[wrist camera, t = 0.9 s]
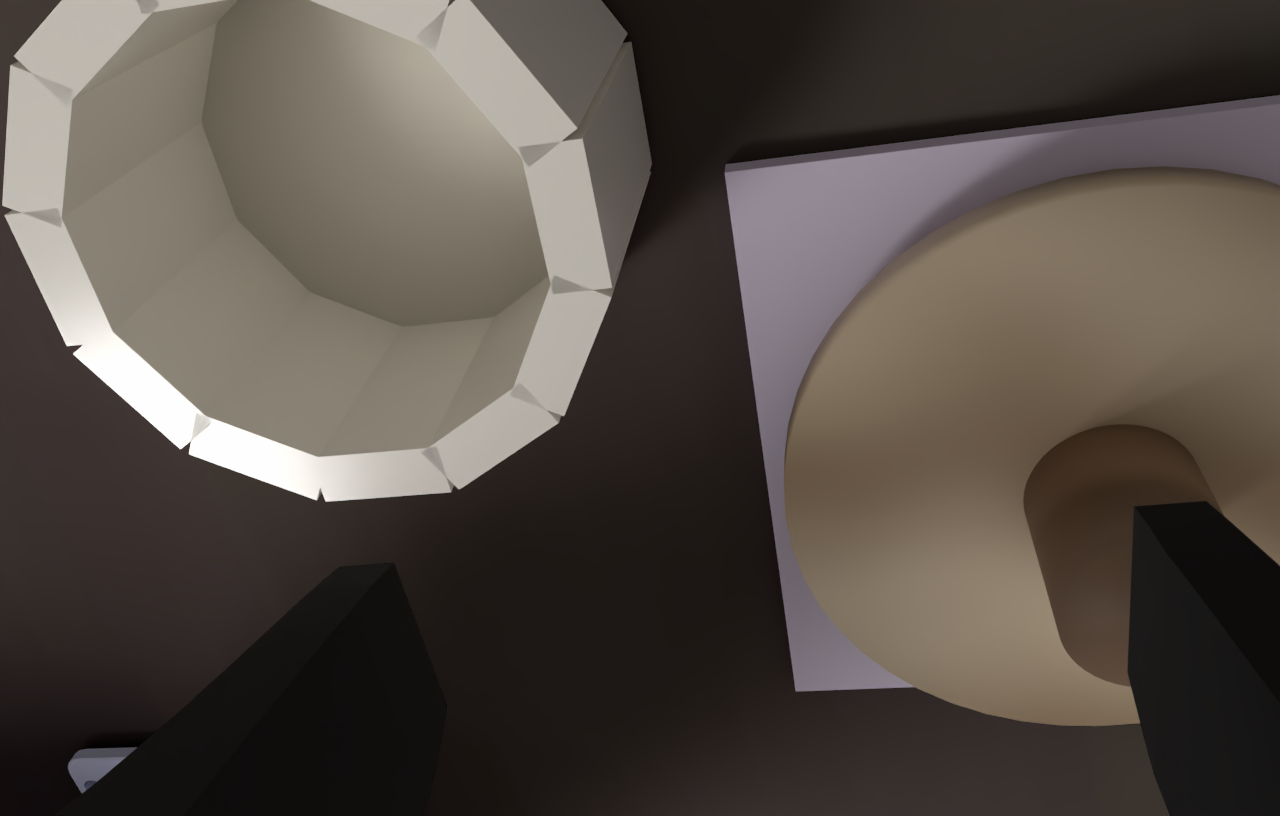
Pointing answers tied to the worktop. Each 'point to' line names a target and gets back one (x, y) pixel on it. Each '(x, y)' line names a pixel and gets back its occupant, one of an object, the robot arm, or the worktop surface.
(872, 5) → the worktop surface
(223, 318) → the bowl
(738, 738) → the worktop surface
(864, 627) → the lid
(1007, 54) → the worktop surface
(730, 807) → the worktop surface
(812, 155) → the mat
